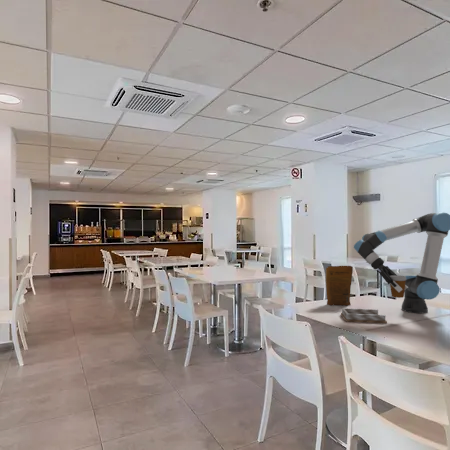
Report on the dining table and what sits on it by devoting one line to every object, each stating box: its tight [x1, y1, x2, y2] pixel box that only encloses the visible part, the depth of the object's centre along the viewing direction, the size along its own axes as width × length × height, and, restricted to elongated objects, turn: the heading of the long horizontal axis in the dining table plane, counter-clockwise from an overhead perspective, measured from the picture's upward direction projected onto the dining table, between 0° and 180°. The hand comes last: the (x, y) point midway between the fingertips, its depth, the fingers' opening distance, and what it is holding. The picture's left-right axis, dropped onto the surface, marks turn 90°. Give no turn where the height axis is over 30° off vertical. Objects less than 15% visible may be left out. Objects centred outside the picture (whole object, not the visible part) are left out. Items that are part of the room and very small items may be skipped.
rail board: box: [340, 307, 388, 324], centre depth 203 cm, size 22×17×4 cm
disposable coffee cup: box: [389, 274, 406, 299], centre depth 202 cm, size 10×10×12 cm
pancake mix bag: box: [325, 265, 354, 307], centre depth 242 cm, size 7×19×28 cm, turn 83°
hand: (403, 289), depth 200 cm, fingers closed on disposable coffee cup, 9 cm apart
